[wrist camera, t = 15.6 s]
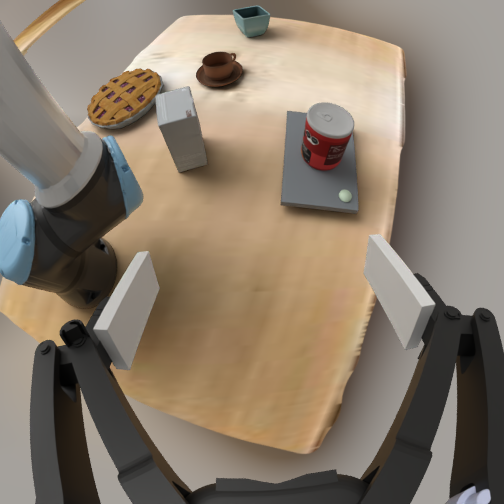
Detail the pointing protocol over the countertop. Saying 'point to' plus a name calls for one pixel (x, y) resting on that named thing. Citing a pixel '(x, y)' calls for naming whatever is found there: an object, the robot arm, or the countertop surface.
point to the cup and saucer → (219, 69)
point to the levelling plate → (317, 175)
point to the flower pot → (252, 20)
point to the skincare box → (181, 128)
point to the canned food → (326, 135)
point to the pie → (125, 99)
